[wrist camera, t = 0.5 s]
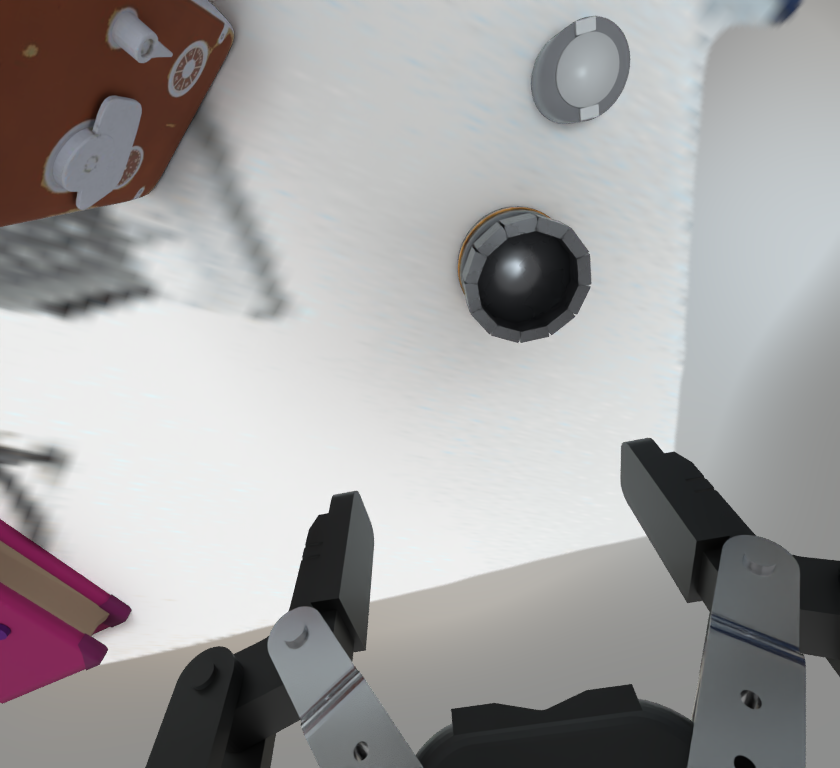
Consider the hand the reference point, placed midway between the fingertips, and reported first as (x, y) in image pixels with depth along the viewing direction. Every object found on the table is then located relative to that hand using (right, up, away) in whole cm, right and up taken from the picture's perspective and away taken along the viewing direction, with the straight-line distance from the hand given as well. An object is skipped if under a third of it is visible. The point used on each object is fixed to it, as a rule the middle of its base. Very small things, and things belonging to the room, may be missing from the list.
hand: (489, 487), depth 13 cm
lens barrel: (+6, +14, +24) cm, 28 cm away
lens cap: (+9, +25, +18) cm, 32 cm away
